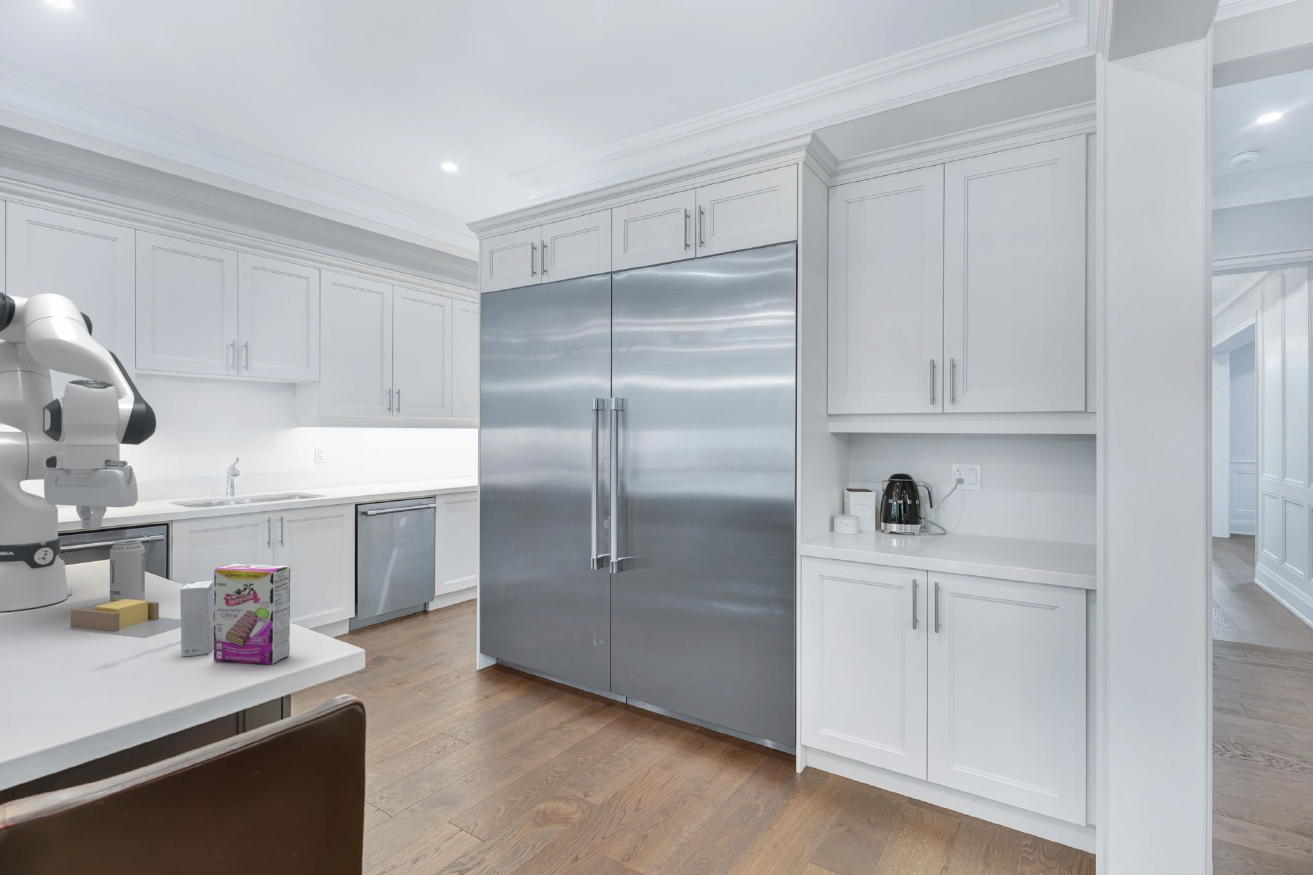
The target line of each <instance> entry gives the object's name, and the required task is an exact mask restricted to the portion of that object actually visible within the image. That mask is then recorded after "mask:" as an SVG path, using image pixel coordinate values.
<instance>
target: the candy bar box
mask: <svg viewBox="0 0 1313 875" xmlns="http://www.w3.org/2000/svg"><path fill="white" fill-rule="evenodd" d="M213 572H214V574H213V575H214V577H213V579H214V581H213V591H214V647H213V662H222V663H223V662H225V663H240V664H255V665H256V664H257V665H274V664H277V663H278V662H280V661H282V660H283V659H285V658H287V657H289V656H290V644H291V642H290V635H291V634H290V629H291V628H290V627H291V626H290V622H291V621H290V618H291V616H290V615H291V614H290V611H291V600H290V598H291V565H277V564H276V565H275V564H274V565H272V564H257V563H256V564H254V563H253V564H252V563H229V564H226V565H223V566H218V567H217V568H214V570H213Z"/></svg>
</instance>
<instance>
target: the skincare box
mask: <svg viewBox="0 0 1313 875" xmlns="http://www.w3.org/2000/svg"><path fill="white" fill-rule="evenodd" d="M180 619H181V627H180V647H181V649H180V650H181V657H193V656H202V655H208V654H210V653H211V651H212V650H214V581H213V580H205V581H204V580H203V581H195V582H187V583H186V584H184V585H183V587H182V588H181V589H180Z"/></svg>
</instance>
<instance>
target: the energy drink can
mask: <svg viewBox="0 0 1313 875" xmlns="http://www.w3.org/2000/svg"><path fill="white" fill-rule="evenodd" d="M142 541H143V540H142V539H141V540H140V539H129V540H127V539H125V540H119V541H114V542H113V544H112V547H111V548H110V550H109V603H111V602H112V599H117V598H120V599H130V600H141V601H146V597H145V596H146V589H145V588H146V586H145V585H146V581H145V580H146V561H145V560H146V548H145V546H144V545H143V543H142Z"/></svg>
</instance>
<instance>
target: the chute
mask: <svg viewBox="0 0 1313 875" xmlns="http://www.w3.org/2000/svg"><path fill="white" fill-rule="evenodd" d="M119 600H123V599H120V598H117V599H112V602H115V601H119ZM147 601H148V600H147ZM159 606H160V602H158V601H148V621H145V622H142V623H138V624H135V625H131V626H128V627H124V628H121V629H119V612H110V611H100V610H94V609H91V608H90V609H88V608H80V607H79V608H78V607H76V608H71V609H70V626H69V627H66V628H65V630H69V631H70V630H71V631H78V632H79V631H80V632H86V633H87V632H88V633H95V634H96V633H97V634H105V635H114V636H123V637H132V638H140V639H141V638H142V639H146V638H151V637H153V636H156V635H160V634H163V633H166V632H170V631H173V630H176V629H179V628H181V618H180V619H179V618H170V617H162V616H161V617H160V615H159V614H160V607H159Z"/></svg>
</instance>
